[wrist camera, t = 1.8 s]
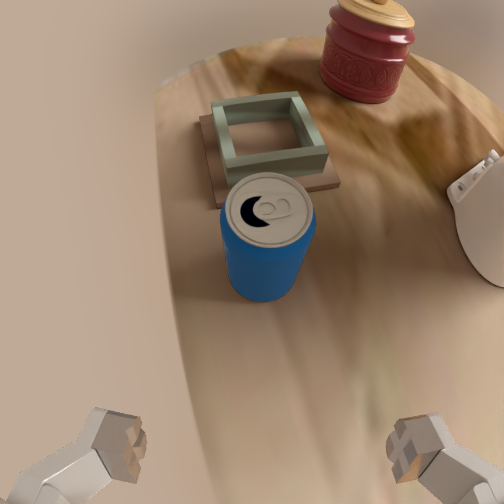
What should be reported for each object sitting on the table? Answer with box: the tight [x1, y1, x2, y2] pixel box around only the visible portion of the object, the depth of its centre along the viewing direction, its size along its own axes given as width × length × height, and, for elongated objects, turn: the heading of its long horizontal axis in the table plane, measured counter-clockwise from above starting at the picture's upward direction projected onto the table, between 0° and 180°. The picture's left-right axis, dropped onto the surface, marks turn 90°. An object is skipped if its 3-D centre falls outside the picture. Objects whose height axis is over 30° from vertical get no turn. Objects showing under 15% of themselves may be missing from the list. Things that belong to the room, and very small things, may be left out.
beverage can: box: [220, 172, 316, 302], centre depth 26 cm, size 6×6×12 cm
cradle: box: [199, 91, 340, 208], centre depth 36 cm, size 14×14×4 cm
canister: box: [320, 0, 416, 103], centre depth 37 cm, size 13×13×18 cm
